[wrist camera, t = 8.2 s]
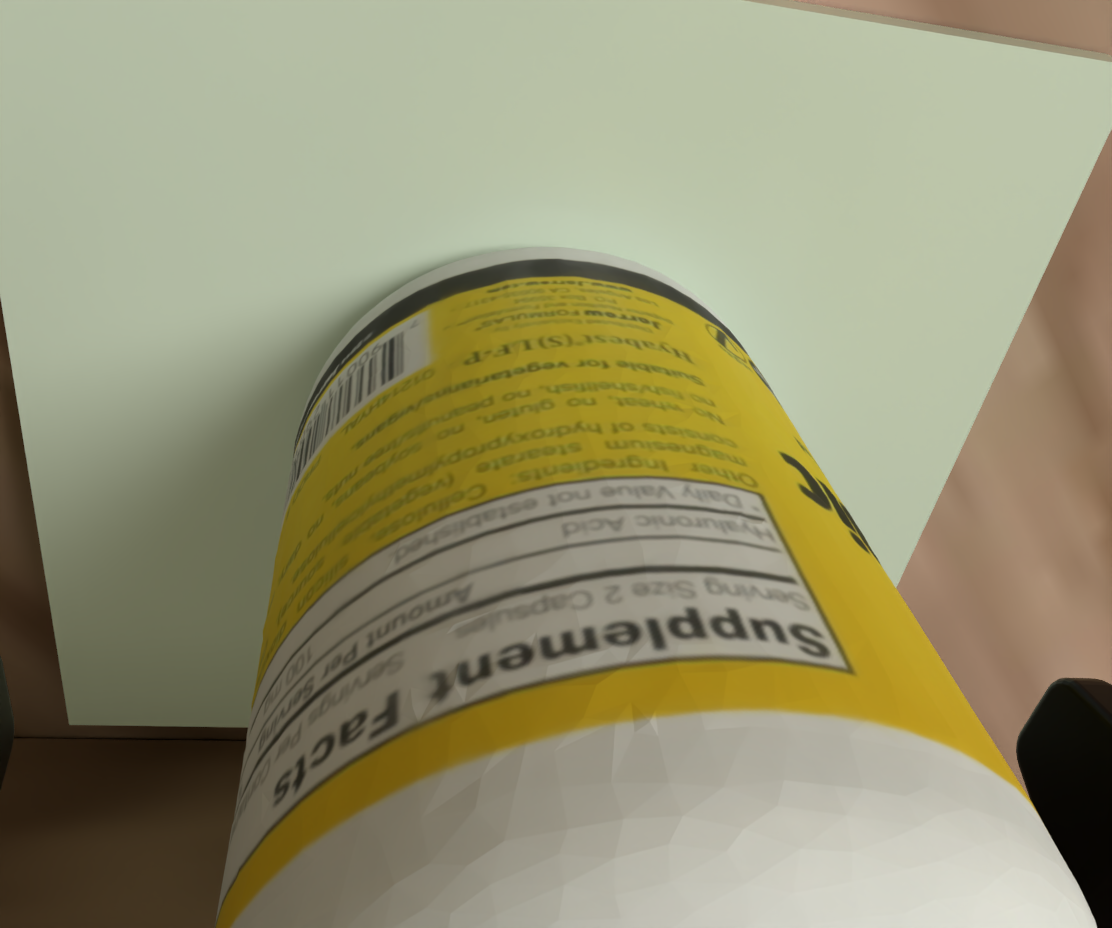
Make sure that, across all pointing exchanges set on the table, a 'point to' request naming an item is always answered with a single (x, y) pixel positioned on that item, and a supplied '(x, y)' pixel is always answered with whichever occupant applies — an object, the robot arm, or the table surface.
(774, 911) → the supplement bottle
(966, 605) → the table surface
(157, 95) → the sage tile
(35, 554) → the table surface
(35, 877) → the wooden frame
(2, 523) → the table surface
